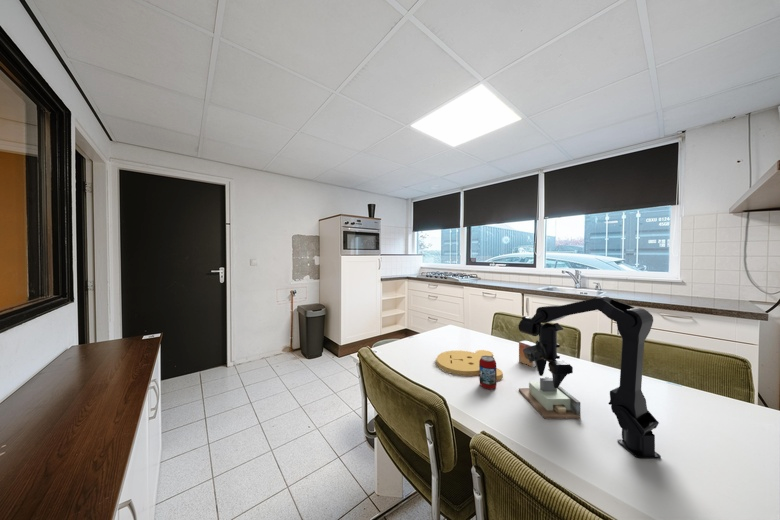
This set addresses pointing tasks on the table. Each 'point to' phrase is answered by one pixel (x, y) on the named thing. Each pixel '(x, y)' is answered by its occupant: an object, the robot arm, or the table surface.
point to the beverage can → (488, 372)
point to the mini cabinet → (548, 394)
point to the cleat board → (542, 410)
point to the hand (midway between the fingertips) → (548, 381)
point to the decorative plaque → (463, 362)
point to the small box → (521, 355)
